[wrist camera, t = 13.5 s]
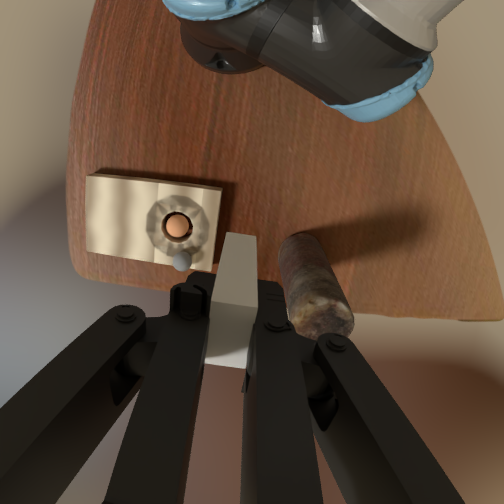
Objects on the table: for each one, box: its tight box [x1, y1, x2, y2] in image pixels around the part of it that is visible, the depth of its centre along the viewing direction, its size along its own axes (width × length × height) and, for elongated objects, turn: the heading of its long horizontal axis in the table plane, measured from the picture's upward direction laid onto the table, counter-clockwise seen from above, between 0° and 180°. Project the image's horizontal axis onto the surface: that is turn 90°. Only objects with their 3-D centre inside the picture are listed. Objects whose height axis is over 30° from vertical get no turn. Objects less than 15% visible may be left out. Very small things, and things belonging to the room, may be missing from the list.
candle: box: [278, 233, 354, 341], centre depth 42 cm, size 8×7×20 cm
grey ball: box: [173, 252, 192, 271], centre depth 48 cm, size 3×3×3 cm
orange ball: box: [166, 215, 189, 237], centre depth 48 cm, size 4×4×4 cm
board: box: [86, 173, 223, 271], centre depth 48 cm, size 22×13×2 cm, turn 81°
